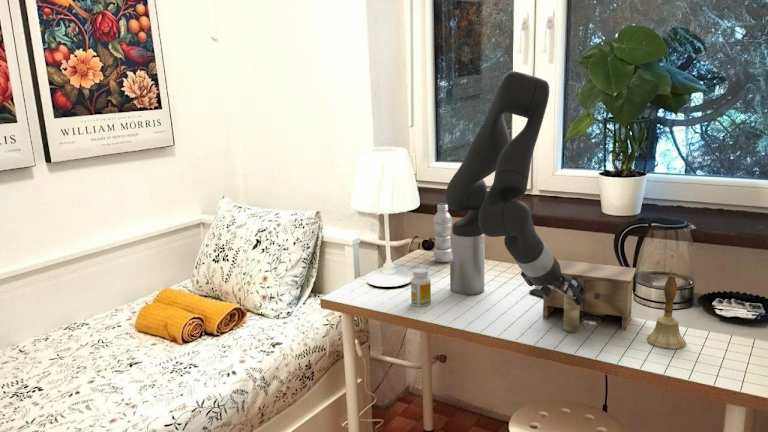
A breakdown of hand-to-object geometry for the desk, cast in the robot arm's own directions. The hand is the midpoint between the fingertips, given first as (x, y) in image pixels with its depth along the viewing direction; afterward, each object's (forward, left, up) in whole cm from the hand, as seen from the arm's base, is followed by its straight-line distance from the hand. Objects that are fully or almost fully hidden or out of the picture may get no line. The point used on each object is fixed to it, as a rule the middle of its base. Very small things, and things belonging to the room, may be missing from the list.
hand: (564, 297), depth 144 cm
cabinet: (+3, +13, -9) cm, 17 cm away
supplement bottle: (-40, +5, -9) cm, 41 cm away
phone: (-7, +25, -10) cm, 28 cm away
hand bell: (+22, +5, -10) cm, 25 cm away
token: (+5, +10, -10) cm, 15 cm away
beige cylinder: (+2, +9, -9) cm, 13 cm away
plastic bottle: (-50, +45, -9) cm, 68 cm away
